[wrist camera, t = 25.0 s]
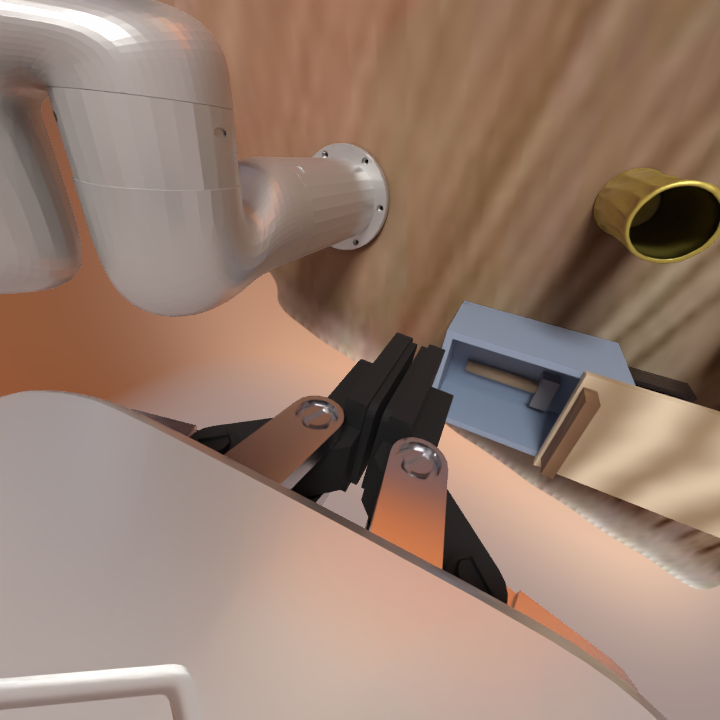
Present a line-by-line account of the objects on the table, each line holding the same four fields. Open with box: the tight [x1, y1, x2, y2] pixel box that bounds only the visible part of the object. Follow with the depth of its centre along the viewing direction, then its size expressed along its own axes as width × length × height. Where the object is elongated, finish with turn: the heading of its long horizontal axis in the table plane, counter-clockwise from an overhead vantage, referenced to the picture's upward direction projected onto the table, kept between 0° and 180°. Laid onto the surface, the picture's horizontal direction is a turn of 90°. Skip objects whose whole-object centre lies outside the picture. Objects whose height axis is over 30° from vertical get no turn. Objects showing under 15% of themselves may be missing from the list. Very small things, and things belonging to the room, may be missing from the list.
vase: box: [594, 168, 720, 264], centre depth 28 cm, size 6×6×14 cm
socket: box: [628, 367, 697, 403], centre depth 41 cm, size 7×7×3 cm
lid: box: [534, 371, 720, 538], centre depth 32 cm, size 19×13×3 cm
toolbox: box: [432, 301, 636, 457], centre depth 42 cm, size 18×12×10 cm, turn 83°
